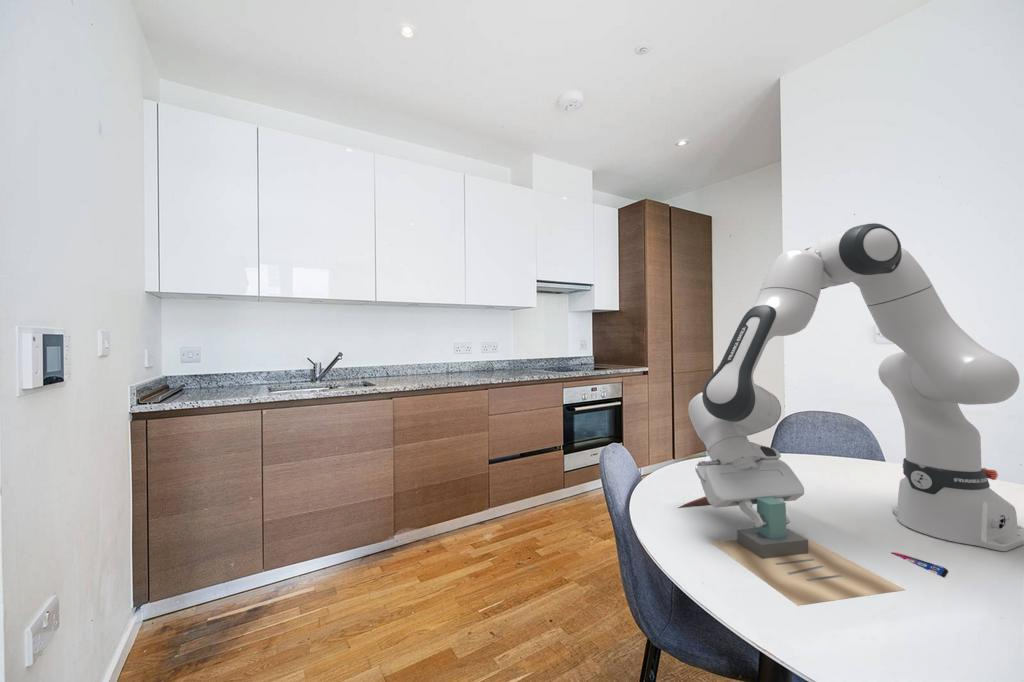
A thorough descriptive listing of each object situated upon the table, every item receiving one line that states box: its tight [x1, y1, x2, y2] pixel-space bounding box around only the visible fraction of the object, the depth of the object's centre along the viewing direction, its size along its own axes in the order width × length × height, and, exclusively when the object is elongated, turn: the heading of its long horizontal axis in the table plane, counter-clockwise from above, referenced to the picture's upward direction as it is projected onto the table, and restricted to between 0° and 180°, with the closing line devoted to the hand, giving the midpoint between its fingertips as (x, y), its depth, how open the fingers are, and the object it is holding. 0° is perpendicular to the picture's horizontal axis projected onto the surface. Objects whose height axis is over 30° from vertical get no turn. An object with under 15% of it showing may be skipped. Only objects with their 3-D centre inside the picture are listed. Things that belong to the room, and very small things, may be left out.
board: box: [710, 532, 906, 607], centre depth 69 cm, size 20×19×2 cm
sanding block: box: [736, 497, 809, 559], centre depth 74 cm, size 10×6×9 cm, turn 100°
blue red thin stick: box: [890, 552, 949, 578], centre depth 68 cm, size 8×1×15 cm
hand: (774, 525), depth 74 cm, fingers closed on sanding block, 3 cm apart
